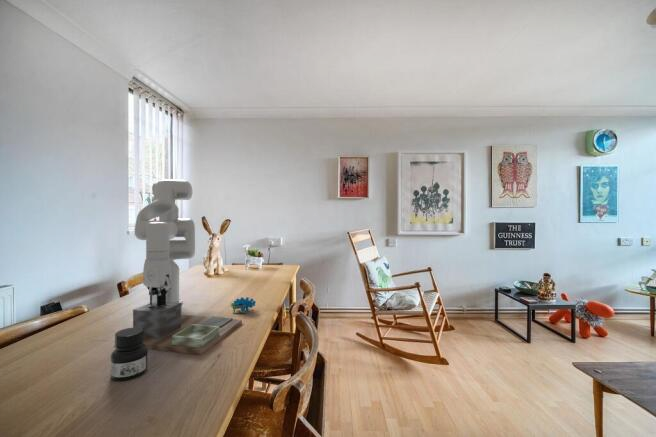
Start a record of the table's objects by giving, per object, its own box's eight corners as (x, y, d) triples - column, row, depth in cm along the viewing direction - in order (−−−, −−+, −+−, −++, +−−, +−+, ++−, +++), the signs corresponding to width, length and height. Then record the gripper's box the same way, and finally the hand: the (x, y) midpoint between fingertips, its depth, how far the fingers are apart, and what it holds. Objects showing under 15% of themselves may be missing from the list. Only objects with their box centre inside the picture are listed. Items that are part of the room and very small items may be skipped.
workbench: (114, 345, 104) (114, 313, 104) (171, 317, 132) (171, 292, 131) (201, 355, 98) (201, 321, 98) (241, 323, 126) (242, 297, 125)
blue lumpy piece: (257, 304, 145) (252, 294, 138) (257, 316, 141) (252, 306, 134) (234, 308, 145) (228, 297, 137) (233, 319, 141) (227, 309, 133)
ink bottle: (104, 384, 81) (104, 340, 81) (113, 368, 89) (113, 328, 89) (147, 377, 85) (146, 335, 84) (151, 362, 93) (151, 324, 92)
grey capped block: (153, 317, 109) (153, 292, 109) (147, 316, 110) (147, 291, 110) (168, 312, 114) (168, 288, 114) (162, 311, 116) (162, 287, 115)
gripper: (133, 255, 112) (133, 304, 112) (164, 258, 105) (164, 311, 105) (152, 252, 118) (152, 299, 119) (182, 255, 112) (182, 305, 112)
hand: (157, 304), depth 112 cm, fingers closed on grey capped block, 3 cm apart
